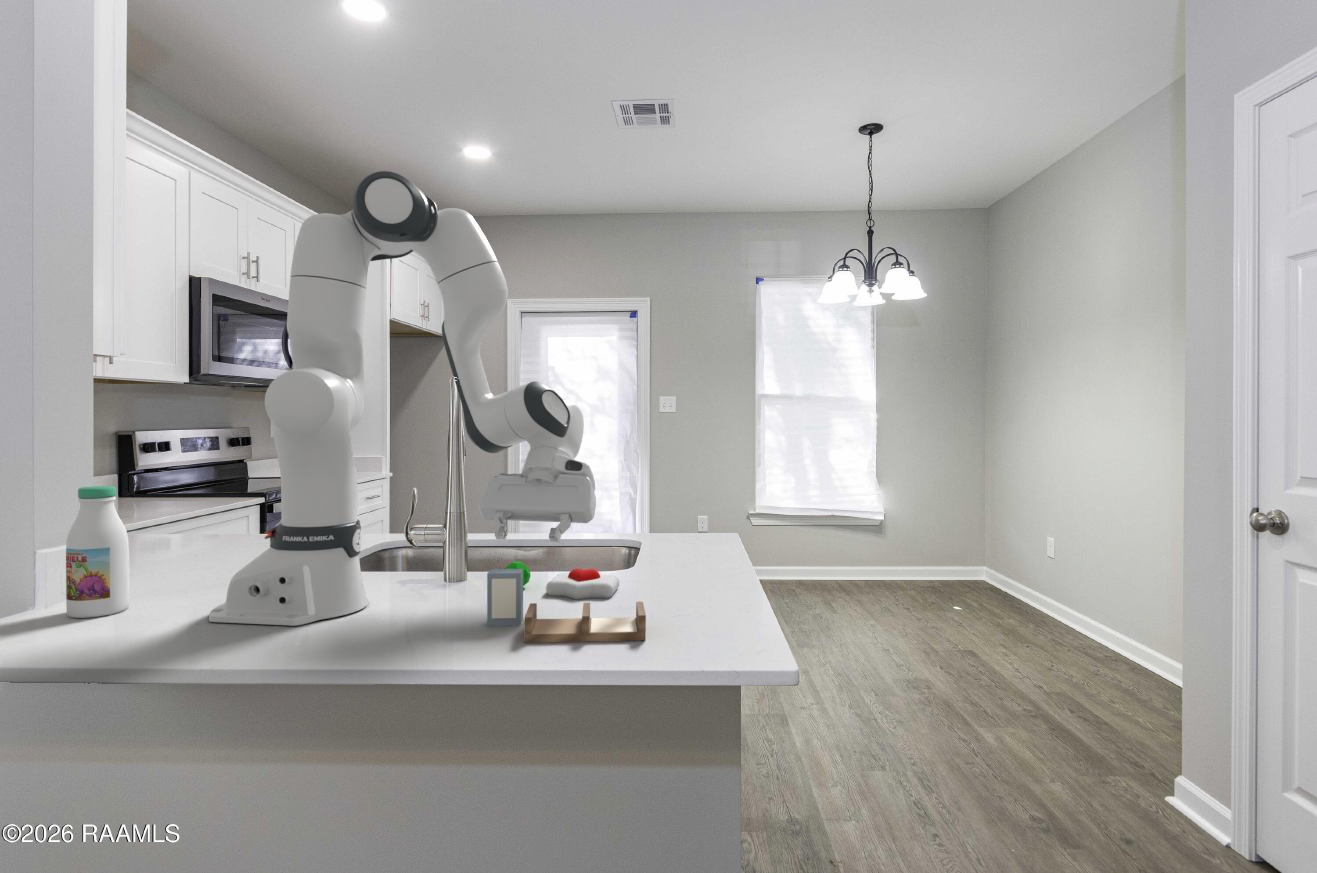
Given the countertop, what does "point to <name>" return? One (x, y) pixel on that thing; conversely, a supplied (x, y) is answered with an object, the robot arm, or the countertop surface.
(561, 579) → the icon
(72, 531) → the milk bottle
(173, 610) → the countertop surface
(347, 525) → the robot arm
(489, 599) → the frame
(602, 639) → the wooden rack
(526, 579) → the polyhedron
